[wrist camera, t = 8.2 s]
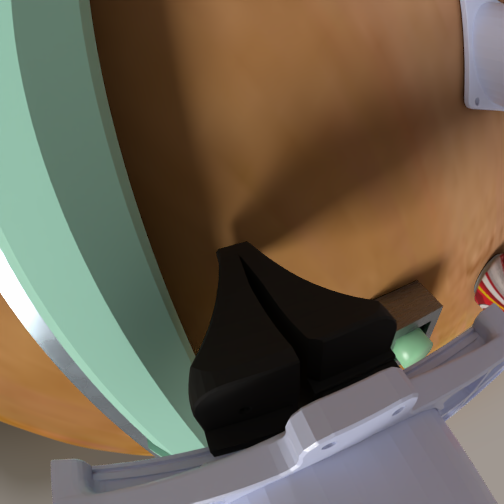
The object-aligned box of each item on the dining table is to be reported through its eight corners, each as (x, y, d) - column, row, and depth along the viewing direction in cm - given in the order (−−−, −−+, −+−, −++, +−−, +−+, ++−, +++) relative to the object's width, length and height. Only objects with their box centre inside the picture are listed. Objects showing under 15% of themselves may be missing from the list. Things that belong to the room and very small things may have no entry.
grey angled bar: (98, -92, 4) (90, -120, 2) (234, 419, 23) (242, 443, 21) (-52, -16, 3) (-82, -22, 1) (158, 437, 22) (163, 462, 20)
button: (412, 308, 20) (437, 336, 18) (404, 331, 21) (426, 358, 19) (384, 321, 19) (409, 352, 17) (378, 344, 21) (399, 373, 19)
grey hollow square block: (417, 280, 20) (443, 306, 18) (403, 326, 23) (423, 351, 21) (365, 303, 19) (390, 334, 17) (355, 349, 23) (375, 377, 20)
